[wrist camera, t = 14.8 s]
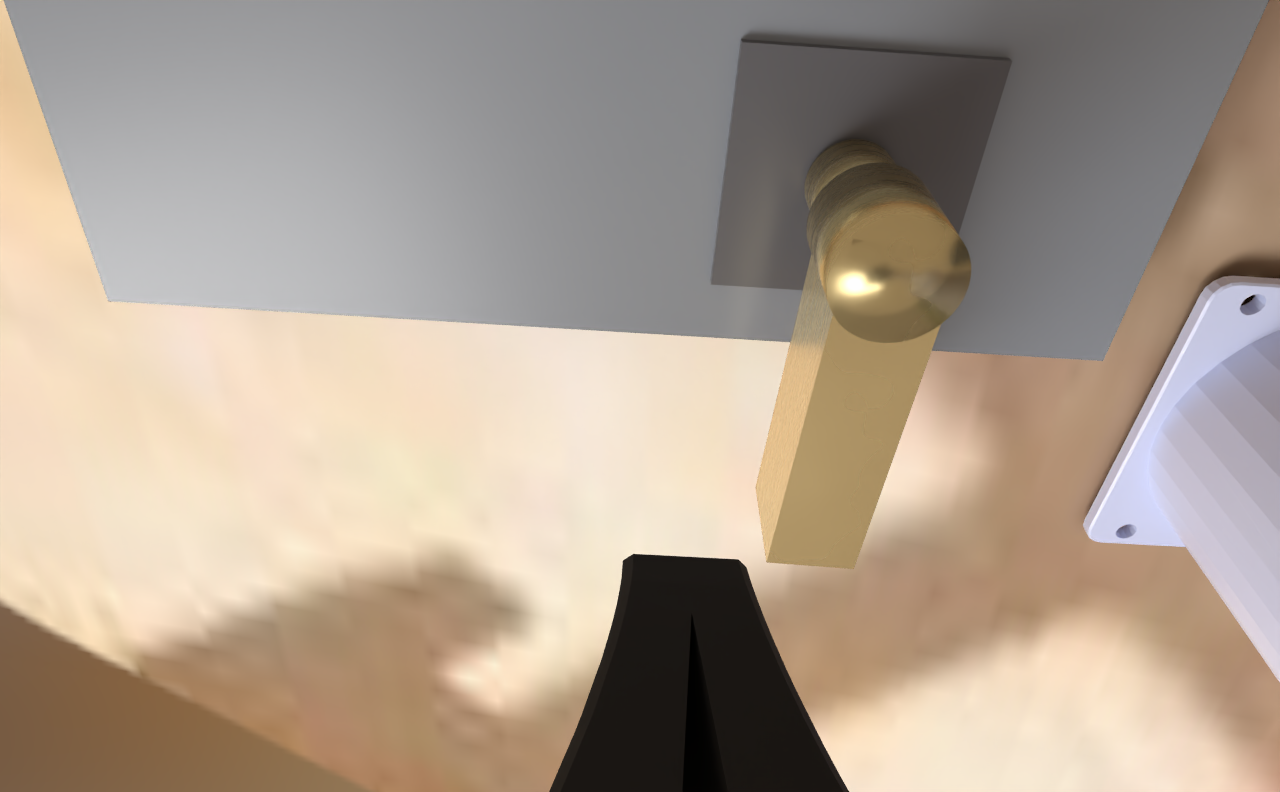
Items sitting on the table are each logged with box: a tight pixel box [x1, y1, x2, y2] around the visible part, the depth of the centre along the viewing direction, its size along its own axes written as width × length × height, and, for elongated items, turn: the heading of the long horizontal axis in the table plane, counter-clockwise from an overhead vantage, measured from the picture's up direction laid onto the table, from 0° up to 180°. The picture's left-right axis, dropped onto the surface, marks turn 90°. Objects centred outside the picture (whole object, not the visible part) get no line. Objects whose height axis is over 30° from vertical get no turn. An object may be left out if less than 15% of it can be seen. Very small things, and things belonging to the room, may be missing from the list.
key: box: [756, 139, 971, 569], centre depth 15 cm, size 7×2×4 cm, turn 174°
